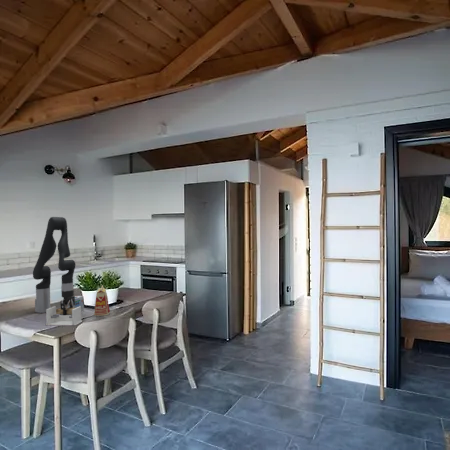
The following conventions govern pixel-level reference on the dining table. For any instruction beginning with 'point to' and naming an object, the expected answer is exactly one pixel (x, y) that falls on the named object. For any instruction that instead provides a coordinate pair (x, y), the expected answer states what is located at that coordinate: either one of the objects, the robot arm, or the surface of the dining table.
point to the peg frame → (63, 317)
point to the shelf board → (59, 311)
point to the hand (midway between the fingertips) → (68, 313)
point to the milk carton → (101, 303)
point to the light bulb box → (79, 302)
